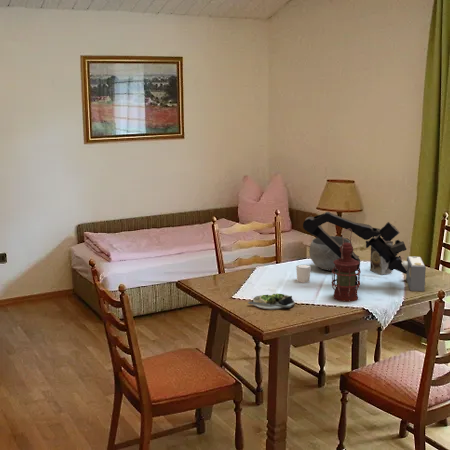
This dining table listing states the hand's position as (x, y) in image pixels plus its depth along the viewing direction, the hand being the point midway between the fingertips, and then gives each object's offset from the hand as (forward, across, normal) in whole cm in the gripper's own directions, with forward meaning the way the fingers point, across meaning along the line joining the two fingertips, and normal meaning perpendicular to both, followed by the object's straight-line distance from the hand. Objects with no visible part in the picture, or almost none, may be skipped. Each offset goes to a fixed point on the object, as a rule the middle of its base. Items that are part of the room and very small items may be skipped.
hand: (406, 272), depth 280 cm
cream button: (+2, +12, 0) cm, 12 cm away
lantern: (-13, -16, +24) cm, 32 cm away
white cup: (-27, +7, +38) cm, 47 cm away
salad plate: (-33, -28, +45) cm, 63 cm away
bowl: (-18, +29, +29) cm, 45 cm away
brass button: (+3, 0, -1) cm, 3 cm away
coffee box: (-1, +26, +12) cm, 29 cm away
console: (+8, +6, +2) cm, 10 cm away
